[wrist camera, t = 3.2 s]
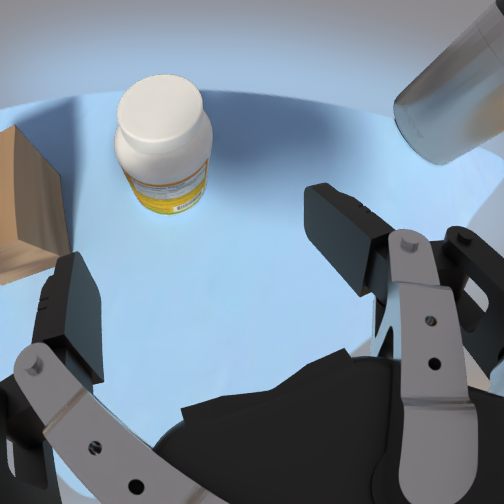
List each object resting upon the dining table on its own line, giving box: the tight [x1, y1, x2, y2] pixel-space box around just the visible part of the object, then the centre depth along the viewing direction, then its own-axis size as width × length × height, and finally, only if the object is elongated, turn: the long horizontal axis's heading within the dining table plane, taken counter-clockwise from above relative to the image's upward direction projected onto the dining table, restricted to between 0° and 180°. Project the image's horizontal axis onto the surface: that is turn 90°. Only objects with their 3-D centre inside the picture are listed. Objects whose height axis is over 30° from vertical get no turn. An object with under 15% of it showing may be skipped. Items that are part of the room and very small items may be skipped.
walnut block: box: [0, 125, 71, 285], centre depth 15 cm, size 7×7×8 cm
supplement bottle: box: [114, 74, 213, 216], centre depth 17 cm, size 5×5×10 cm
